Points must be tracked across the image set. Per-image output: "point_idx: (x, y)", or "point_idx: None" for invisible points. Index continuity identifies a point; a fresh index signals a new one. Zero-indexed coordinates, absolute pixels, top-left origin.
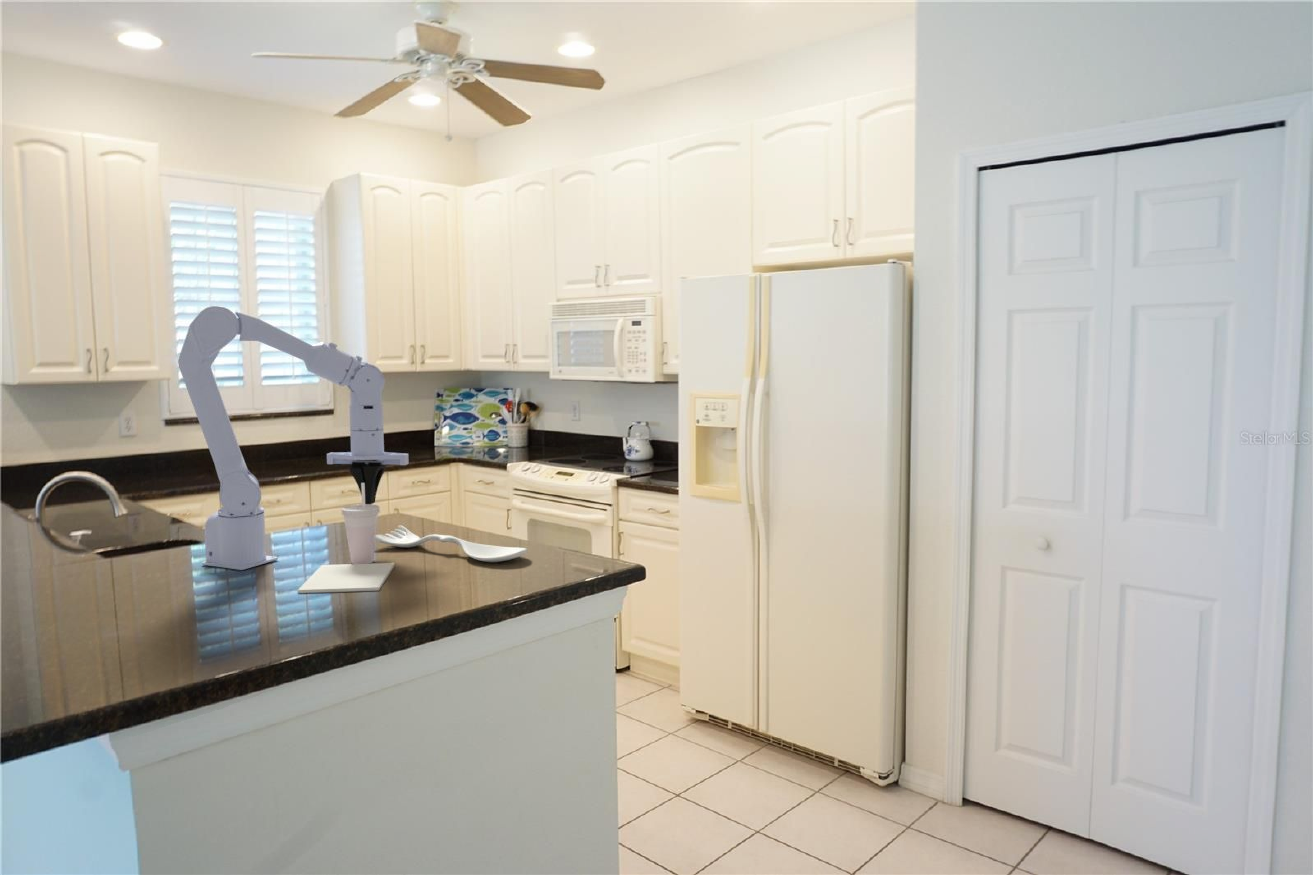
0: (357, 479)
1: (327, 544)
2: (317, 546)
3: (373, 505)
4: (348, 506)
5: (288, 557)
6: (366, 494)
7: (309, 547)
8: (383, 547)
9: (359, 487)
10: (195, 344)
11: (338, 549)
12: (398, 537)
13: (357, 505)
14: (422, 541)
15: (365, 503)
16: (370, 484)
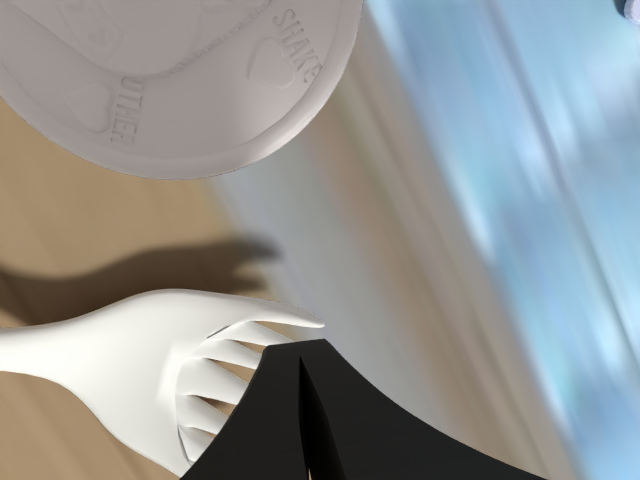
0: (436, 456)
1: (517, 328)
2: (545, 290)
3: (78, 111)
4: (335, 40)
5: (594, 84)
6: (295, 372)
7: (571, 268)
8: None
9: (385, 402)
10: None
11: (436, 258)
12: (212, 410)
13: (272, 118)
14: (13, 328)
15: (309, 341)
16: (234, 445)
